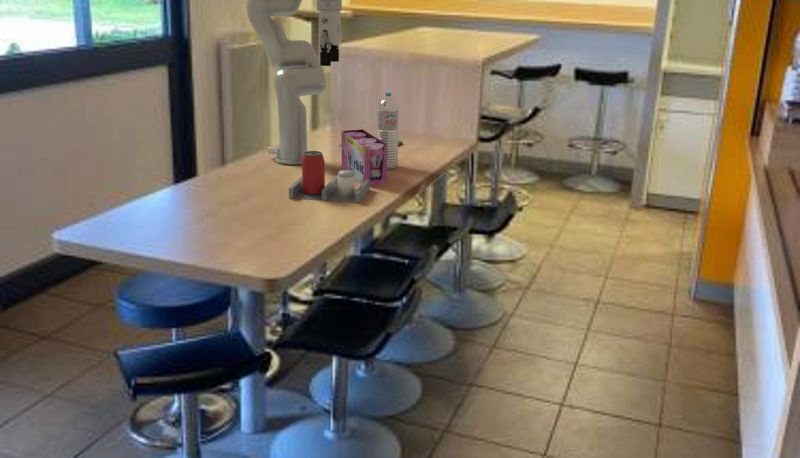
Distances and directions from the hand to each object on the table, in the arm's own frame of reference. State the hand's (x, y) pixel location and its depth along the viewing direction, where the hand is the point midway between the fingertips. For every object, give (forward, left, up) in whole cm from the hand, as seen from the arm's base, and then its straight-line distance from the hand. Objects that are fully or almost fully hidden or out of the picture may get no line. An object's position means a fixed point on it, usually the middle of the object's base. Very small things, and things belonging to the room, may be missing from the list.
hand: (329, 63), depth 247 cm
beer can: (0, -20, -36) cm, 41 cm away
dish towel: (+3, +47, -37) cm, 60 cm away
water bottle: (+15, +18, -36) cm, 43 cm away
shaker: (+10, -20, -35) cm, 42 cm away
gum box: (+10, +2, -37) cm, 38 cm away
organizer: (+5, -20, -36) cm, 42 cm away
